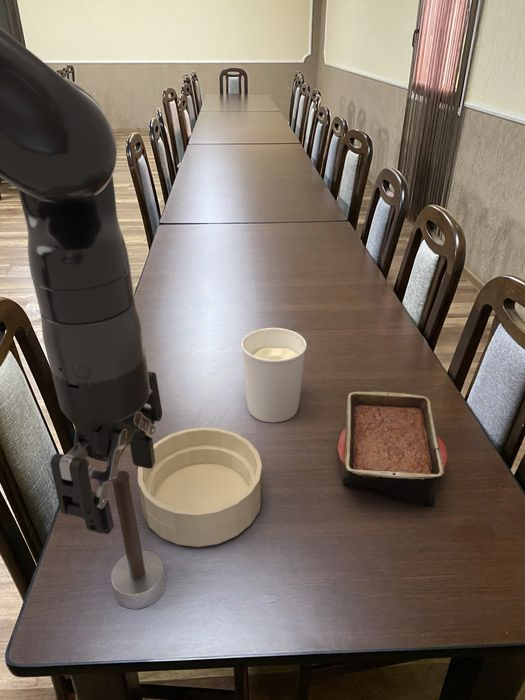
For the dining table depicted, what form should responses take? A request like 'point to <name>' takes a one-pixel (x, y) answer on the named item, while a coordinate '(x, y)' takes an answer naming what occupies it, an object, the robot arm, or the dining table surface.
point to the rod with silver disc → (134, 556)
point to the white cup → (273, 373)
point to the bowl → (201, 486)
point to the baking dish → (392, 445)
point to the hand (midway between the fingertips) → (124, 495)
